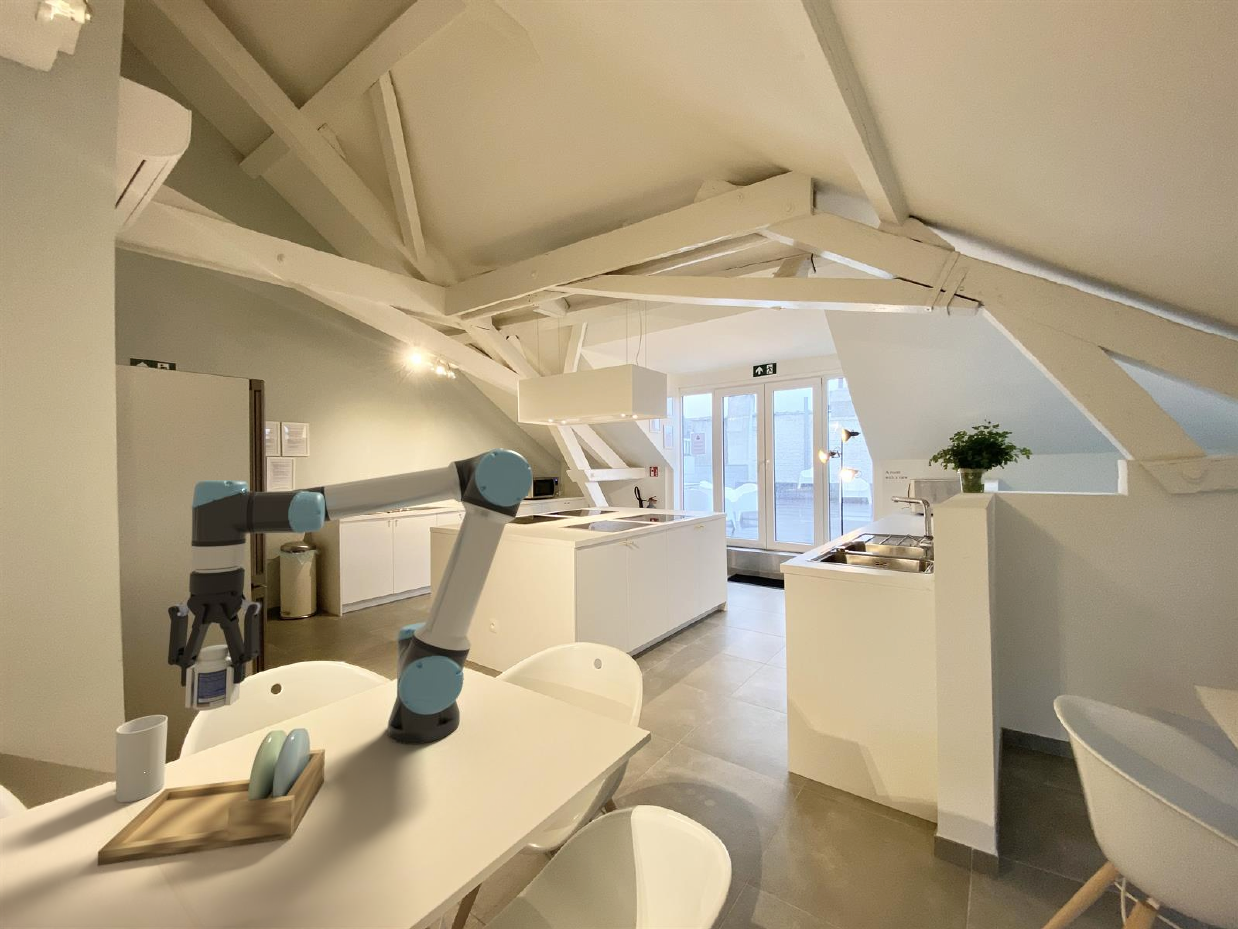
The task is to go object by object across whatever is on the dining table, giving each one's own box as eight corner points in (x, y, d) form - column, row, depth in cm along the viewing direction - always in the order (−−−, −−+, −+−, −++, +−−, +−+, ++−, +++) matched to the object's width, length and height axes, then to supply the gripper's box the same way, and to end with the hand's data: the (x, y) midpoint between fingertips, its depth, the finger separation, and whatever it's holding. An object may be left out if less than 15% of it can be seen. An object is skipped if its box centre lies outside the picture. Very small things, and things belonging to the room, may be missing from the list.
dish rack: (324, 781, 93) (324, 749, 93) (290, 838, 78) (291, 800, 79) (165, 800, 87) (166, 765, 88) (97, 865, 73) (98, 823, 73)
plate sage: (288, 785, 90) (289, 717, 91) (256, 831, 79) (257, 753, 79) (280, 786, 90) (282, 718, 90) (247, 832, 78) (249, 754, 79)
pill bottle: (239, 701, 89) (241, 645, 89) (204, 714, 84) (207, 655, 84) (220, 695, 91) (222, 641, 91) (185, 708, 86) (187, 650, 86)
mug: (151, 800, 88) (153, 730, 88) (103, 807, 86) (105, 735, 86) (183, 768, 97) (185, 705, 98) (141, 773, 95) (143, 709, 96)
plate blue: (309, 782, 91) (310, 715, 91) (280, 827, 80) (282, 751, 80) (301, 783, 91) (303, 716, 91) (272, 829, 79) (273, 751, 80)
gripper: (286, 564, 93) (281, 691, 92) (173, 565, 90) (167, 696, 89) (265, 571, 86) (260, 709, 85) (141, 573, 83) (134, 716, 82)
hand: (212, 702), depth 87 cm, fingers closed on pill bottle, 5 cm apart
